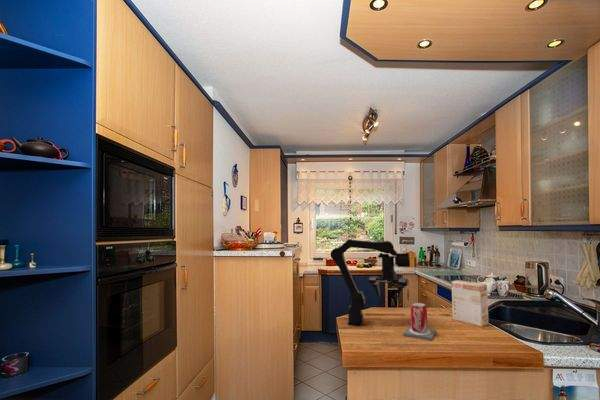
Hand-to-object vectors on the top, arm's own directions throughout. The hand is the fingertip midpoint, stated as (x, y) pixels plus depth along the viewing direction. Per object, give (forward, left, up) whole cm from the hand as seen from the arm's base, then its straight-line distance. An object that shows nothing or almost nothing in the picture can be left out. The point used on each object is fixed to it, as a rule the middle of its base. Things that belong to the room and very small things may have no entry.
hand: (388, 298), depth 165 cm
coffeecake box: (+35, +23, -13) cm, 44 cm away
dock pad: (+15, -6, -13) cm, 21 cm away
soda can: (+15, -6, -12) cm, 20 cm away
